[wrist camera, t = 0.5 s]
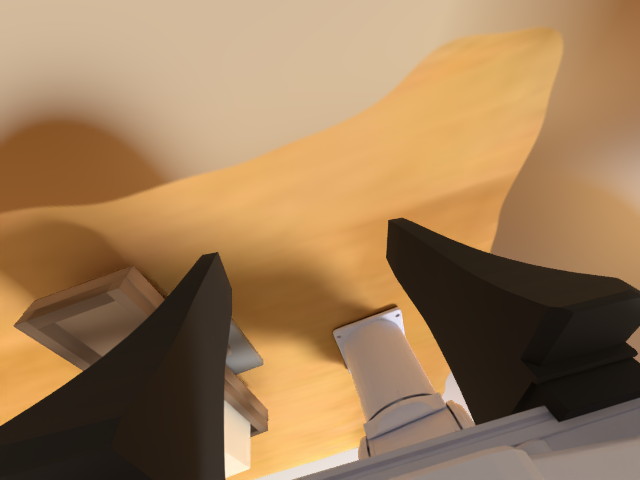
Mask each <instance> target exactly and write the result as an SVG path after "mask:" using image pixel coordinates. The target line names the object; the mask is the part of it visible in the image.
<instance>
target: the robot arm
mask: <svg viewBox="0 0 640 480" xmlns="http://www.w3.org/2000/svg"><path fill="white" fill-rule="evenodd" d="M386 258H387V261H388V263H389V265H390V267H391V269H392V271H393V273H394V275H395V277H396V278H397V280H398V281H399V283H400V284H401V286H402V287H403V289H404V290H405V292H406V293H407V295H408V296H409V298H410V299H411V301H412V302H413V303H414V305H415V306H416V308H417V309H418V311H419V312H420V314H421V315H422V317H423V318H424V320H425V322H426V323H427V325H428V327H429V328H430V330H431V332H432V334H433V336H434V338H435V340H436V341H437V343H438V345H439V347H440V349H441V351H442V353H443V355H444V357H445V359H446V361H447V363H448V365H449V367H450V369H451V371H452V373H453V376H454V378H455V380H456V382H457V384H458V386H459V388H460V391H461V392H462V395H463V397H464V399H465V402H466V404H467V406H468V409H469V411H470V413H471V416H472V418H473V420H474V422H473V421H472V419H471V418H470V416H469V415H468V413H467V412H466V411H465V409H464V408H463V407H462V406H461V405H459V404H457V403H454V402H453V401H452V400H450V401H447V402H446V404H445V402H444V401H443V399H442V397H441V395H440V393H436V392H435V390H434V388H433V386H432V384H431V382H430V381H429V379H428V377H427V375H426V373H425V372H424V370H423V368H422V366H421V364H420V363H419V361H418V359H417V357H416V355H415V354H414V352H413V350H412V348H411V346H410V345H409V343H408V341H407V339H406V337H405V332H404V326H403V319H402V313H401V310H400V308H399V307H396V308H393V309H390V310H387V311H385V312H382V313H379V314H376V315H374V316H371V317H368V318H365V319H363V320H360V321H357V322H355V323H352V324H349V325H346V326H344V327H341V328H338V329H336V330H334V331H333V335H334V338H335V340H336V342H337V345H338V347H339V349H340V352H341V354H342V356H343V359H344V361H345V363H346V366H347V368H348V370H349V373H350V374H351V375H352V378H353V381H354V384H355V387H356V391H357V394H358V397H359V400H360V403H361V406H362V409H363V413H364V416H365V419H366V422H367V423H365V424H364V425H363V426H364V430H365V433H366V436H365V437H363V438H361V441H360V446H359V450H358V457H359V460H357V461H355V462H351V463H347V464H344V465H341V466H337V467H334V468H330V469H327V470H324V471H320V472H317V473H314V474H310V475H307V476H303V477H300V478H297V479H293V480H640V363H639V362H638V361H636V360H635V359H634V358H633V357H635V356H636V355H637V354H638V353H637V351H636V350H635V349H634V348H632V347H631V346H629V345H628V344H627V343H626V341H627V340H628V338H629V337H630V336H631V335H632V334H633V333H634V332H635V331H636V329H637V328H638V327H639V326H640V291H639V290H637V289H636V288H634V287H632V286H631V285H629V284H627V283H626V282H624V281H622V280H620V279H618V278H613V277H605V276H597V275H590V274H581V273H574V272H568V271H563V270H557V269H551V268H546V267H541V266H536V265H531V264H526V263H523V262H519V261H515V260H511V259H507V258H503V257H500V256H496V255H493V254H490V253H487V252H484V251H481V250H478V249H475V248H472V247H469V246H467V245H464V244H462V243H459V242H457V241H454V240H452V239H449V238H447V237H445V236H442V235H440V234H438V233H436V232H433V231H431V230H429V229H427V228H425V227H423V226H420V225H418V224H416V223H414V222H412V221H409V220H407V219H404V218H398V219H392V220H388V237H387V253H386ZM231 317H232V288H231V286H230V283H229V280H228V278H227V275H226V272H225V270H224V267H223V264H222V262H221V259H220V256H219V254H218V252H216V253H211V254H205V255H202V256H201V257H200V258H199V260H198V261H197V262H196V263H195V264H194V266H193V267H192V268H191V270H190V271H189V272H188V273H187V275H186V276H185V277H184V278H183V279H182V281H181V282H180V283H179V284H178V285H177V287H176V288H175V289H174V290H173V291H172V292H171V293H170V295H169V296H168V297H167V298H166V299H165V300H164V301H163V302H162V303H161V304H160V306H159V307H158V308H157V309H156V310H155V311H154V312H153V313H152V314H151V315H150V316H149V317H148V318H147V319H146V320H145V321H144V322H143V323H142V324H140V325H139V326H138V327H137V328H136V329H135V330H134V331H133V332H132V333H131V334H130V335H128V336H127V337H126V338H125V339H124V340H122V341H121V342H120V343H119V344H117V345H116V346H115V347H114V348H113V349H111V350H110V351H109V352H108V353H106V354H105V355H104V356H103V357H102V358H100V359H99V360H98V361H96V362H95V363H94V364H92V365H91V366H90V367H88V368H87V369H86V370H84V371H83V372H82V373H80V374H79V375H77V376H76V377H75V378H73V379H72V380H70V381H69V382H68V383H66V384H65V385H63V386H62V387H60V388H59V389H57V390H56V391H55V392H53V393H52V394H50V395H48V396H47V397H45V398H44V399H42V400H41V401H39V402H38V403H36V404H35V405H33V406H31V407H30V408H28V409H27V410H25V411H24V412H22V413H21V414H19V415H17V416H16V417H14V418H13V419H11V420H10V421H8V422H6V423H5V424H3V425H1V426H0V480H225V453H224V385H225V365H226V356H227V348H228V340H229V333H230V325H231ZM474 423H475V424H474Z"/></svg>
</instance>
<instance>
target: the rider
mask: <svg viewBox="0 0 640 480" xmlns="http://www.w3.org/2000/svg"><path fill="white" fill-rule="evenodd" d="M224 453H225V478H226V477H229V476H232V475H235V474H237V473H240V472H243V471H245V470H248V469H250V423H249V422H248V421H247V420H246V419H245V418H244V417H243V416H242V415H241V414H239V413H238V412H237V411H236V410H235V409H234V408H233V407H232V406H231V405H230V404H228V403H227V402H226V401H225V400H224Z"/></svg>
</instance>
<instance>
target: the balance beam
mask: <svg viewBox="0 0 640 480" xmlns="http://www.w3.org/2000/svg"><path fill="white" fill-rule="evenodd" d="M164 300H165V299H164V298H163V297H162V296H161V295H160V294H159V293H158V292H157V291H156V289H155V288H154V287H153V286H152V285H151V284H150V283H149V282H148V281H147V280H146V279H145V278H144V277H143V276H142V274H141V273H140V272H139V271H138V270H137V269H136V268H135V267H134V266H130V267H127V268H124V269H122V270H119V271H116V272H113V273H110V274H108V275H105V276H102V277H99V278H97V279H94V280H91V281H88V282H85V283H83V284H80V285H77V286H74V287H71V288H69V289H66V290H63V291H60V292H58V293H55V294H52V295H49V296H46V297H44V298H41V299H38V300H35V301H34V302H33V303H32V304H31V306H30V307H29V308H28V309H27V310H26V311H25V312H24V313H23V316H22V317H21V318H20V319H19V320H18V321H17V322H16V323H15V325H14V327H15V328H17V329H19V330H20V331H22V332H23V333H25V334H26V335H28V336H30V337H31V338H33V339H34V340H36V341H37V342H39V343H41V344H42V345H44V346H45V347H47V348H48V349H50V350H51V351H53V352H55V353H56V354H58V355H59V356H61V357H62V358H64V359H66V360H67V361H69V362H70V363H72V364H73V365H75V366H77V367H78V368H80V369H81V370H83V371H84V370H86V369H87V368H88V367H90V366H91V365H92V364H94V363H95V362H96V361H98V360H99V359H100V358H102V357H103V356H104V355H105V354H106V353H108V352H109V351H110V350H111V349H113V348H114V347H115V346H116V345H117V344H119V343H120V342H121V341H122V340H124V339H125V338H126V337H127V336H128V335H130V334H131V333H132V332H133V331H134V330H135V329H136V328H137V327H138V326H139V325H140V324H142V323H143V322H144V321H145V320H146V319H147V318H148V317H149V316H150V315H151V314H152V313H153V312H154V311H155V310H156V309H157V308H158V307H159V306H160V304H161V303H162V302H163V301H164ZM261 365H263V359H262V358H261V356H260V355H259V354H258V352H257V351H256V350H255V349H254V347H253V346H252V345H251V343H250V342H249V341H248V339H247V338H246V337H245V335H244V334H243V333H242V331H241V330H240V329H239V327H238V326H237V325H236V324H235V322H234V321H233V320H232V318H231V325H230V333H229V340H228V348H227V356H226V365H225V385H224V400H225V401H226V402H227V403H228V404H230V405H231V406H232V407H233V408H234V409H235V410H236V411H237V412H238V413H239V414H241V415H242V416H243V417H244V418H245V419H246V420H247V421H248V422H249V423H250V437H252V436H255V435H258V434H260V433H263V432H266V431H268V423H267V421H268V410H267V409H266V407H265V406H264V405H263V404H262V403H261V402H260V401H259V400H258V399H257V398H256V397H255V396H254V395H253V394H252V392H251V391H250V390H249V389H248V388H247V387H246V386H245V385H244V384H243V383H242V382H241V381H240V380H239V379H238V377H237V376H236V375H237V374H239V373H242V372H245V371H248V370H250V369H253V368H256V367H259V366H261Z"/></svg>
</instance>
